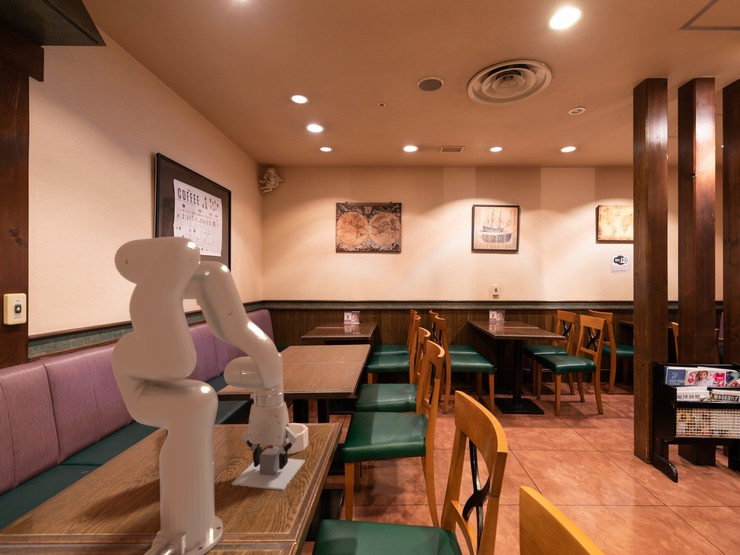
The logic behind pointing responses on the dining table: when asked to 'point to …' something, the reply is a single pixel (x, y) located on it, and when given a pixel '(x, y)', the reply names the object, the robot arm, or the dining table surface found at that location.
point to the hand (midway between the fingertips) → (270, 465)
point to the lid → (269, 472)
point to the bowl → (302, 438)
